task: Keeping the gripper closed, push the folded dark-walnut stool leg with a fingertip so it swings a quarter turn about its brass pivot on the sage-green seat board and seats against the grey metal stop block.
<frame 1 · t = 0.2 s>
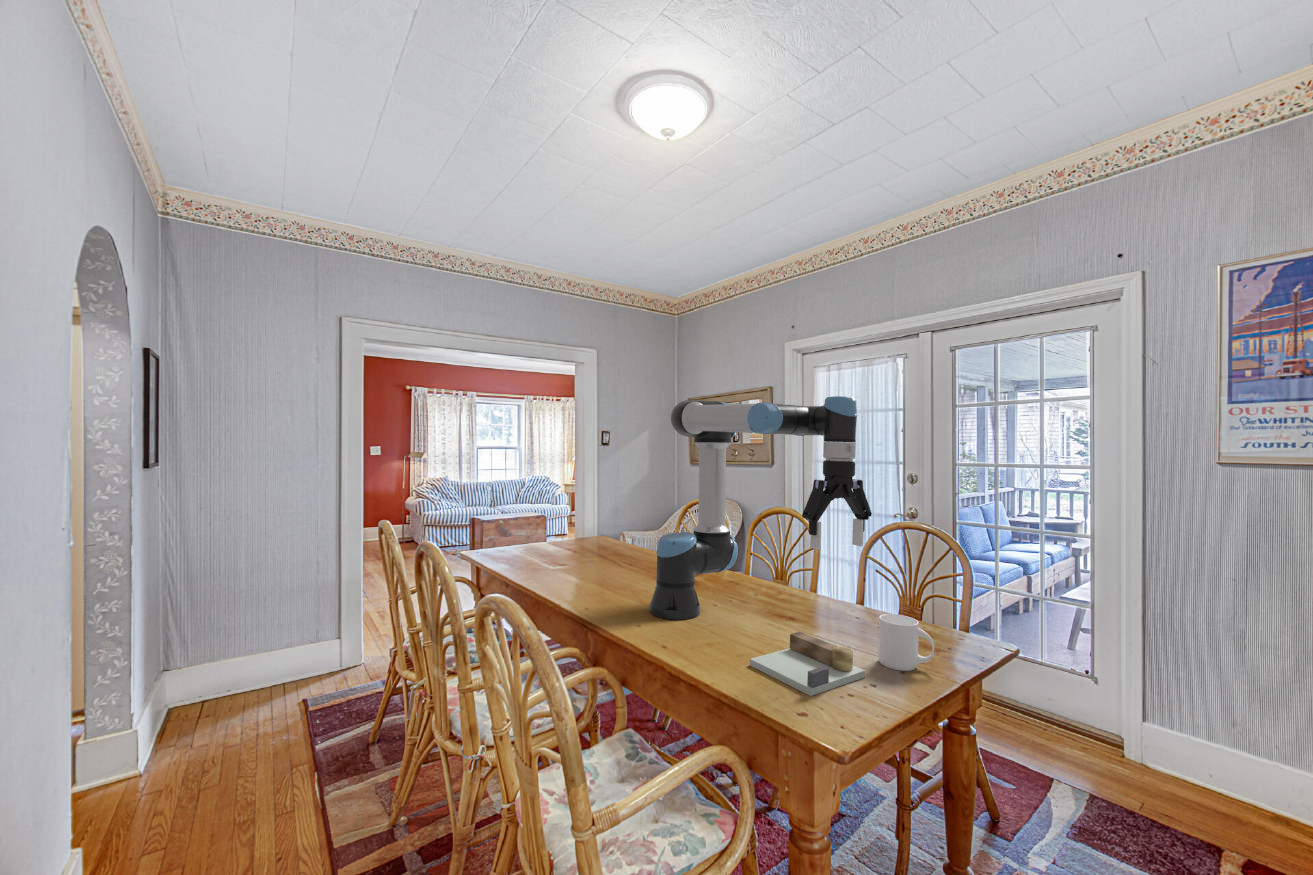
hand: (836, 547, 134), 27 cm above the table, fingers open, 13 cm apart
seat board: (806, 671, 126), on the table
mug: (905, 666, 130), on the table
leg: (821, 650, 129), point 4 cm above the table, hinge at 0.0°
stop block: (817, 691, 115), resting on seat board
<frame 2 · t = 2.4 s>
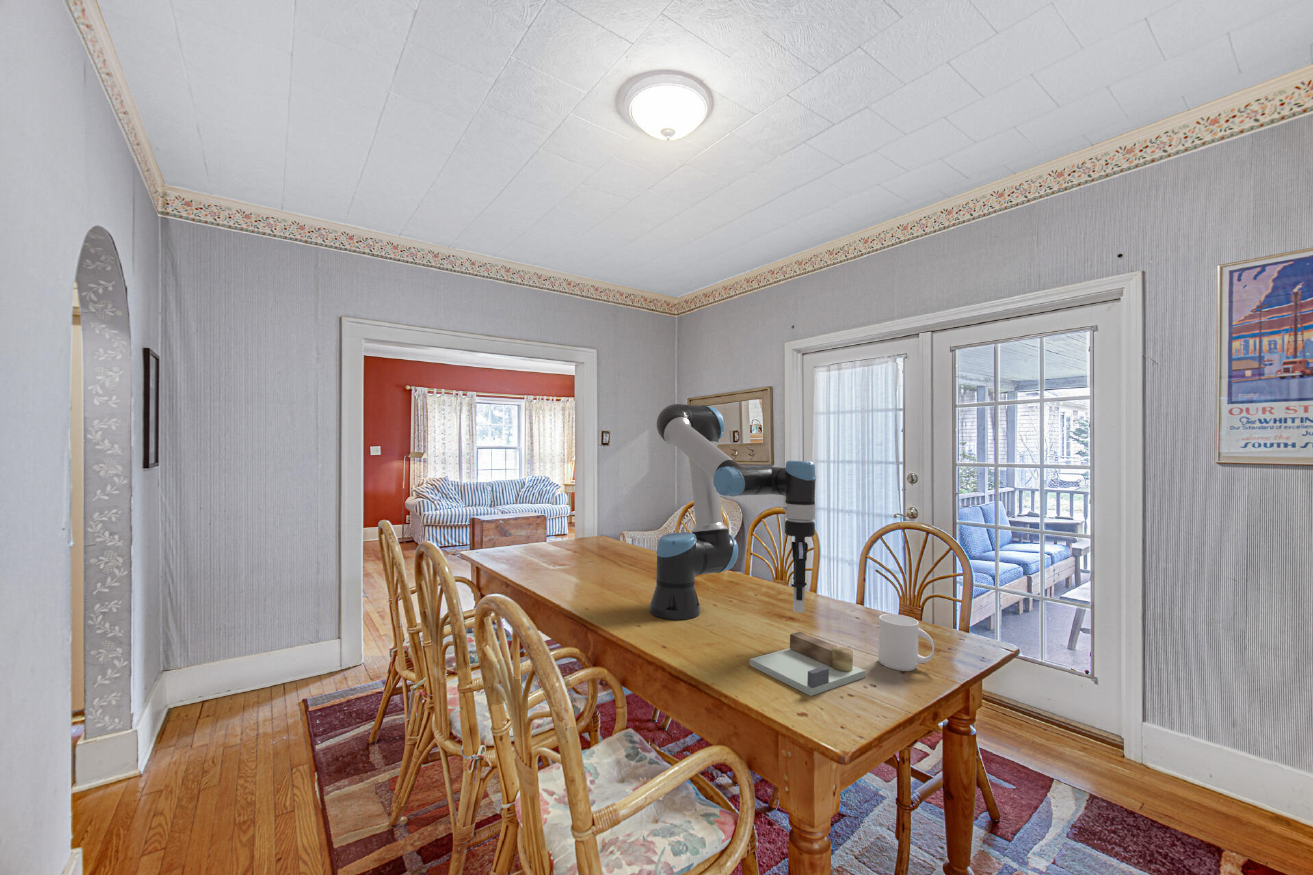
hand: (798, 611, 142), 9 cm above the table, fingers closed
nothing on the table moved.
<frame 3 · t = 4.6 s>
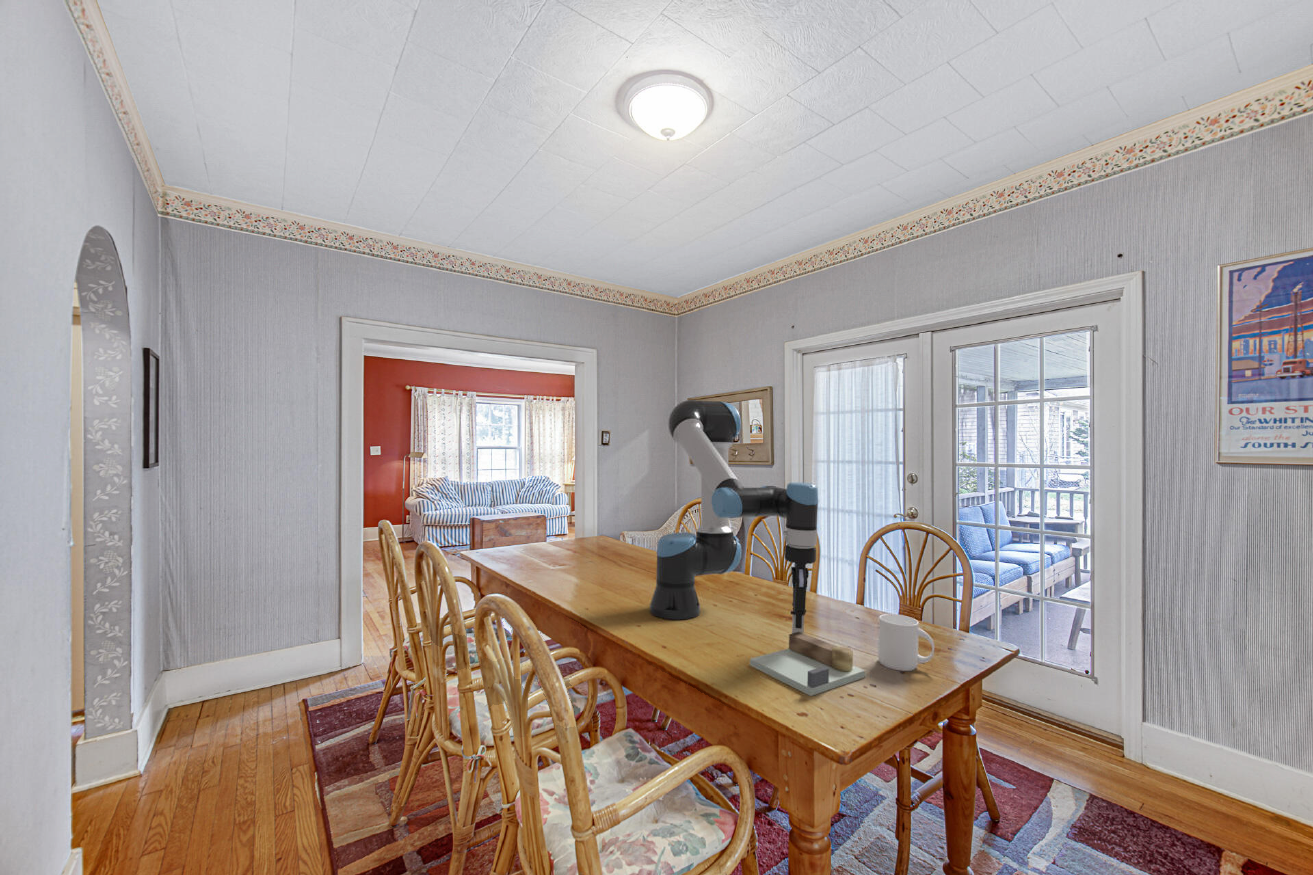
hand: (797, 639, 137), 3 cm above the table, fingers closed
leg: (820, 650, 129), point 4 cm above the table, hinge at 1.4°, touching gripper
everything else where it was.
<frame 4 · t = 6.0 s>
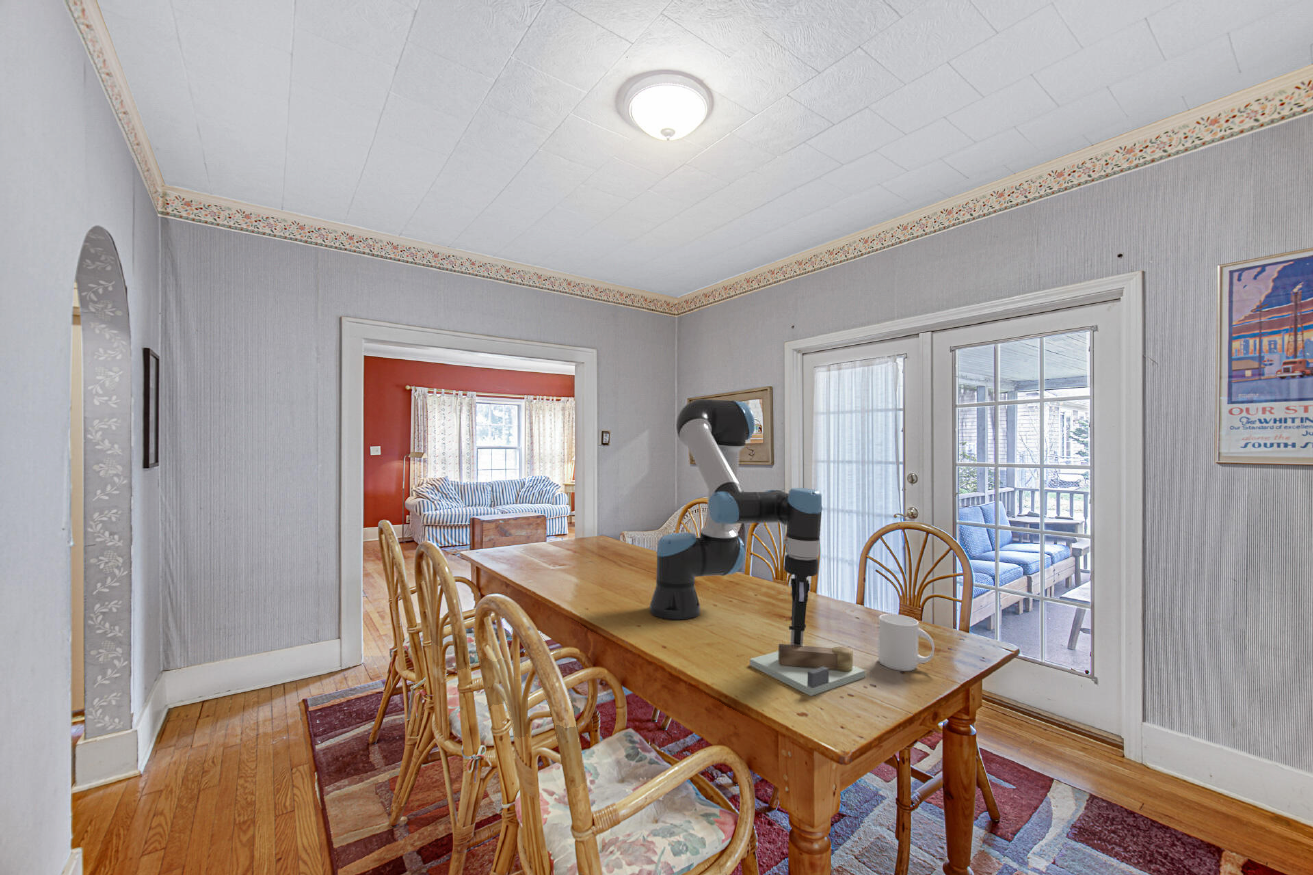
hand: (795, 656, 128), 2 cm above the table, fingers closed
leg: (815, 656, 125), point 4 cm above the table, hinge at 47.1°, touching gripper
everything else where it was.
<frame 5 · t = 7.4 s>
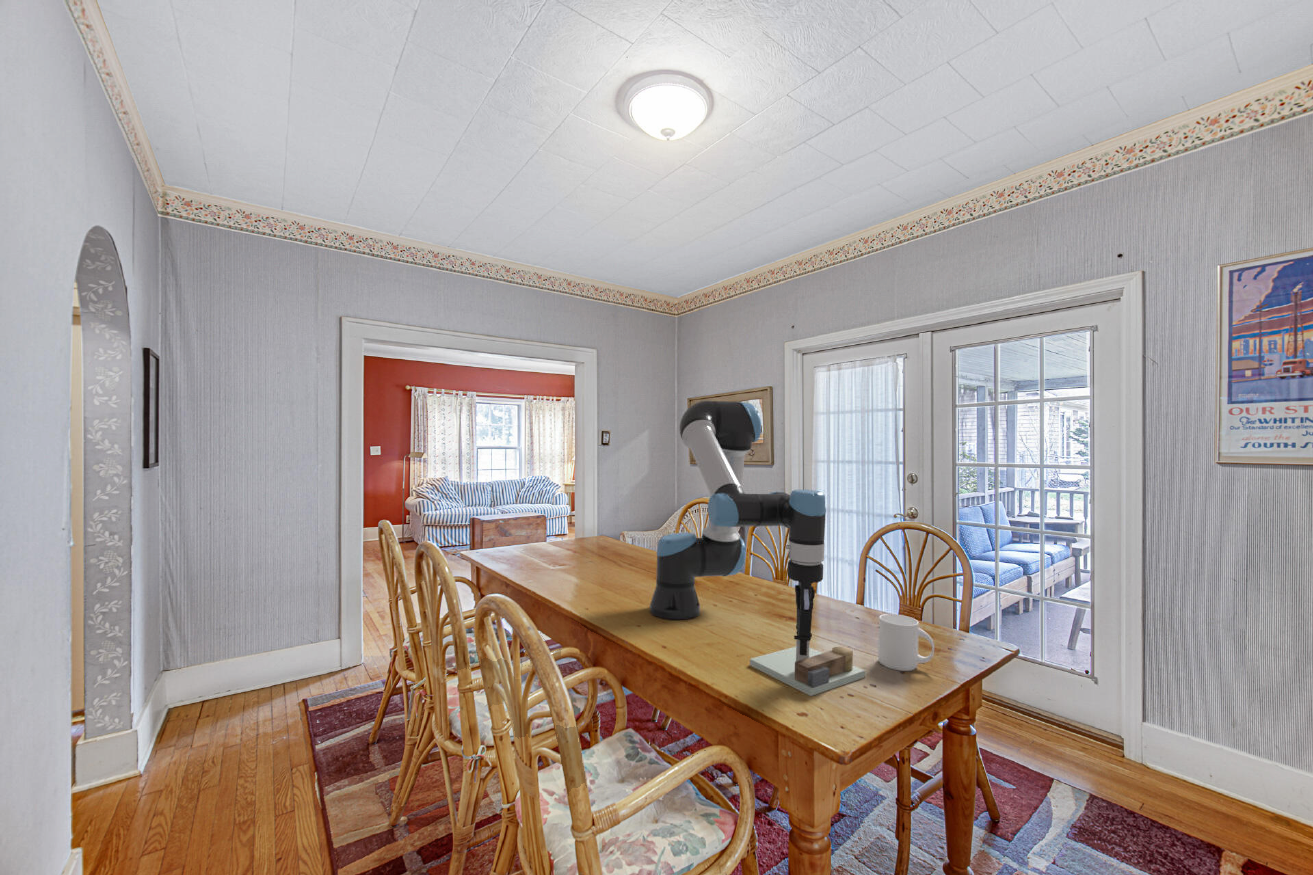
hand: (802, 667, 121), 3 cm above the table, fingers closed
leg: (825, 664, 121), point 4 cm above the table, hinge at 91.5°, touching gripper, stop block
everything else where it was.
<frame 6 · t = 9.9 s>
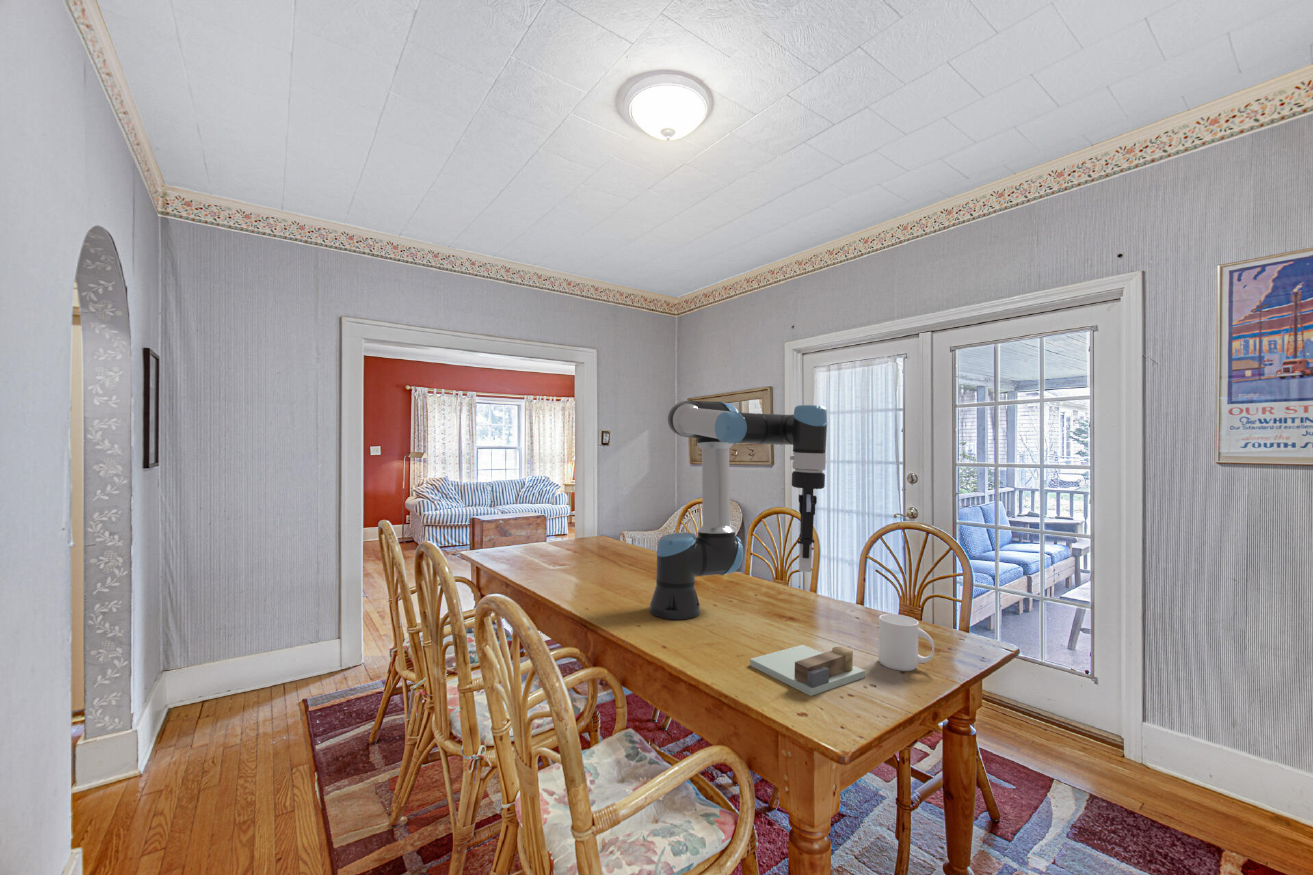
hand: (804, 570, 130), 22 cm above the table, fingers closed
leg: (825, 664, 121), point 4 cm above the table, hinge at 91.5°, touching stop block
everything else where it was.
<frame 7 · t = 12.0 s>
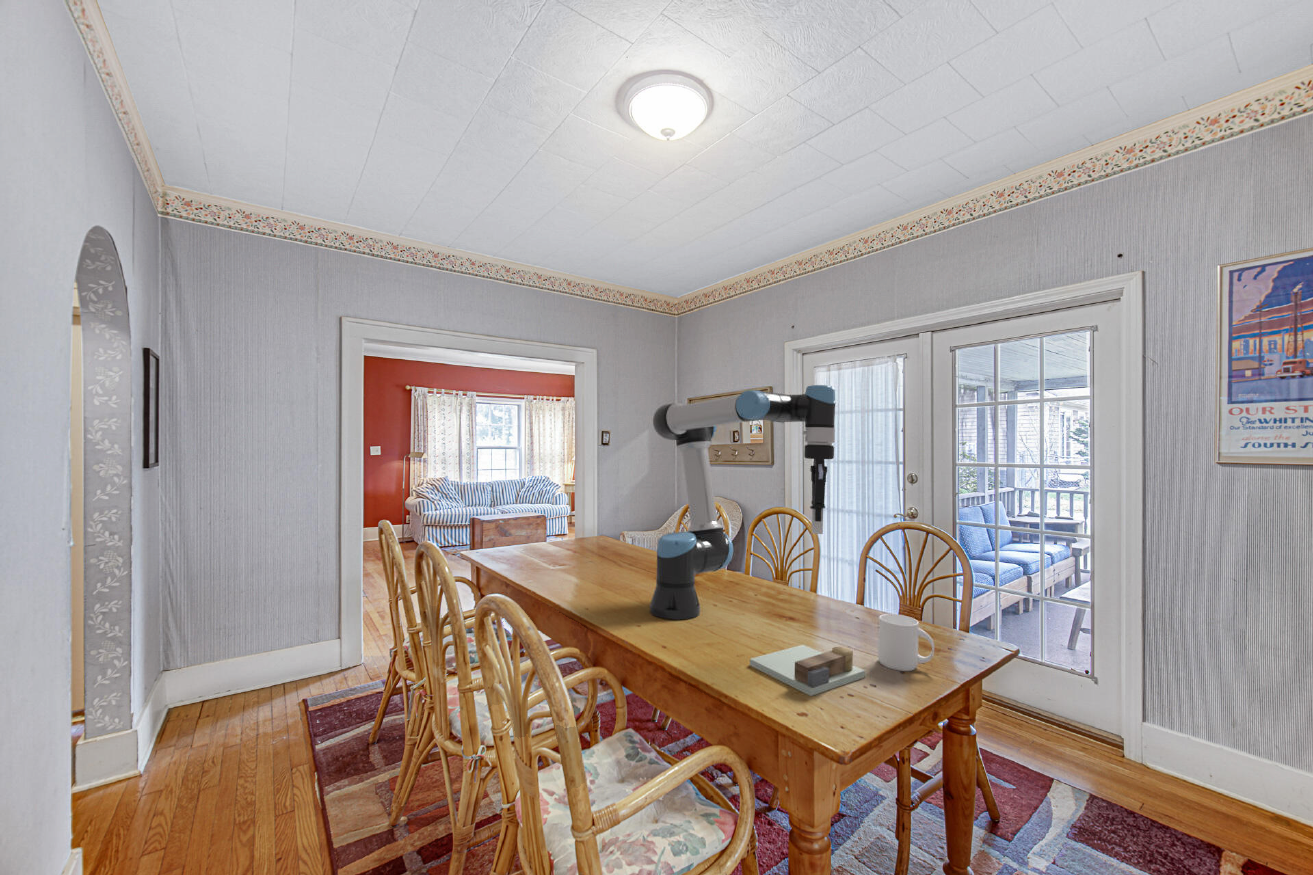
hand: (817, 533, 145), 28 cm above the table, fingers closed
nothing on the table moved.
at the end: leg at +92° (first picture: +0°) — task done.
